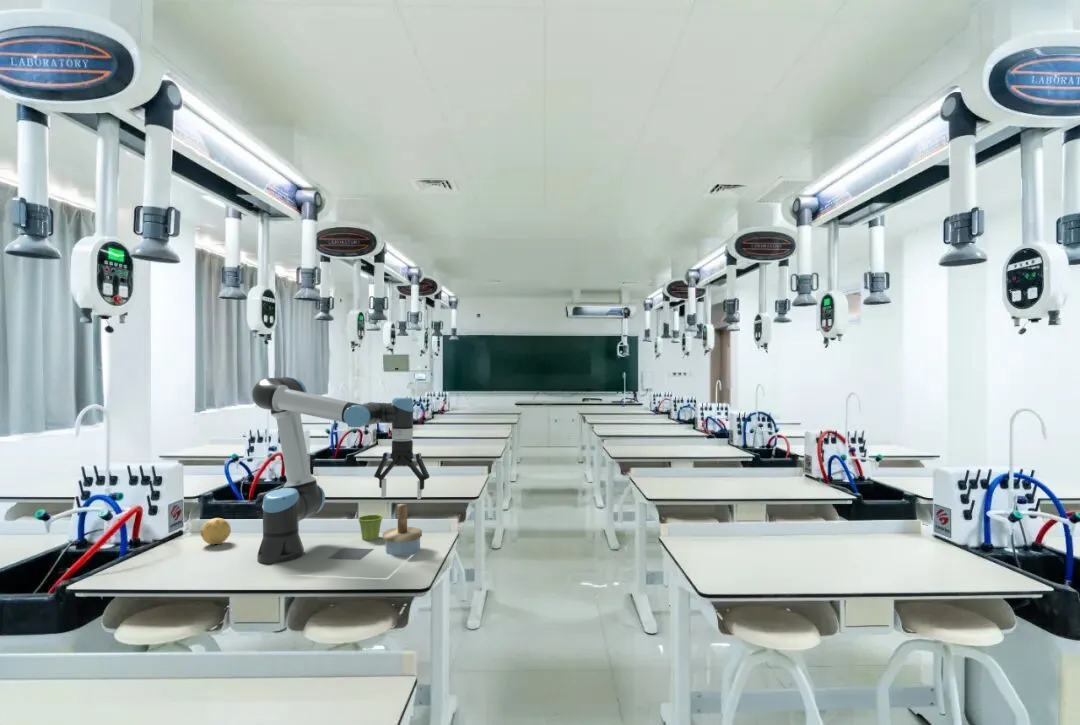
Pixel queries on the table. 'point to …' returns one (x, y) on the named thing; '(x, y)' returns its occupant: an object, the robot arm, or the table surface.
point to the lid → (402, 528)
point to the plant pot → (370, 526)
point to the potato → (215, 531)
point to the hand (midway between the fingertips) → (401, 497)
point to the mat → (350, 553)
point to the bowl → (402, 547)
